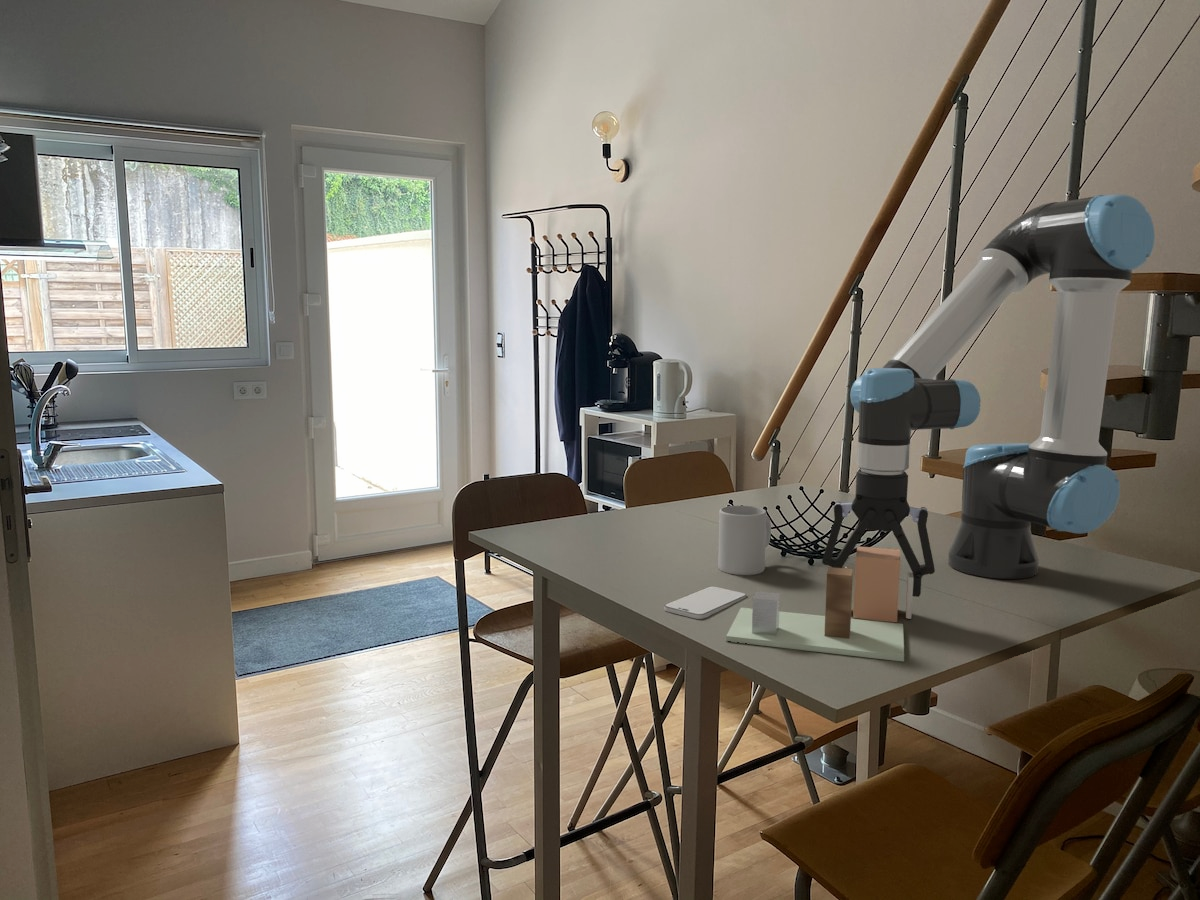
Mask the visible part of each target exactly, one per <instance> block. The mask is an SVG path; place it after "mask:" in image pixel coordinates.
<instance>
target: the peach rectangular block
mask: <svg viewBox="0 0 1200 900" xmlns="http://www.w3.org/2000/svg"><path fill="white" fill-rule="evenodd" d="M854 568H855V570H854V573H855V574H854V589H853V591H854V592H853V609H852V610H853V611H852V613H853V614H852V615H853V616H852V619H859V620H869V621H878V622H888V623H898V612H899V611H898V609H899V595H900V594H899V593H900V592H899V590H900V589H899V588H900V572H901V549H897V548H896V549H895V548H884V547H883V548H881V547H870V546H858V545H856V554H855V567H854Z"/></svg>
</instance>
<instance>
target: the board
mask: <svg viewBox="0 0 1200 900" xmlns="http://www.w3.org/2000/svg"><path fill="white" fill-rule="evenodd" d="M752 612H753V608H752V607H751V608H750V607H749V608H748V607H740V608H739V610H738V612H737V614H736V616H735V618H734V620H733V622H732V623H731V626H730V627H729V629H728V632H727V634H726V637H725V642H728V641H731V642H730V643H737V642H739V643H738V644H745V643H747V644H748V645H756V646H765V647H773V648H781V649H782V648H783V649H789V650H800V651H808V652H819V653H826V654H835V655H843V656H851V657H852V656H853V657H859V658H870V659H879V660H886V661H894V662H895V661H896V662H905V644H904V643H905V639H904V623H898V622H888V621H878V620H868V619H858V618H851V626H850V637H849V639H847V638H838V637H829V636H824V635H825V615H818V614H808V613H799V612H790V611H789V612H787V611H780V610H779V628H778V631H777V634H776V636H774V635H765V634H756V633H752ZM747 644H746V645H747Z"/></svg>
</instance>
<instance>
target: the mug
mask: <svg viewBox="0 0 1200 900" xmlns="http://www.w3.org/2000/svg"><path fill="white" fill-rule="evenodd" d="M718 513H719V516H718V517H719V518H718V519H719V521H718V555H717V556H718V557H717V561H718V562H717V567H718V569H719V570H720V571H721V572H722V573H725V574H730V575H735V576H736V575H737V576H753V575H754V576H755V575H758V574H762V573H764V571H765V570H766V548H768V546H769V545H770V541H771V534H772V524H771V519H770V517H769V516H768V515H767V511H766V509H764V508H762V507H757V506H753V505H728V506H723V507H721V508H720V509H719V512H718Z"/></svg>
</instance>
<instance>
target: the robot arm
mask: <svg viewBox="0 0 1200 900" xmlns="http://www.w3.org/2000/svg"><path fill="white" fill-rule="evenodd" d="M1154 245H1155V227H1154V222H1153V220H1152V217H1151V214H1150V212H1149V211H1148V210H1147V208H1146V207H1145V205H1144V204H1143V203H1142V202H1141V201H1140V200H1139V199H1137V198H1135V197H1134V196H1131V195H1128V194H1120V193H1119V194H1098V195H1096V196H1095V195H1094V196H1091V197H1083V198H1078V199H1071V200H1065V201H1057V202H1056V201H1055V202H1054V201H1053V202H1049V203H1044V204H1041V205H1039V206H1036V207H1033V208H1032V209H1030V210H1028V211H1027V212H1024V213H1023V214H1021V215H1020V216H1019V217H1017V218H1015V219H1014V220H1013V221H1012V222H1011V223H1010V224H1008V225H1007V226H1006V227H1005V228H1004V229H1002V230H1001V231H1000V232H999V233H998V234H997V235H996V236H994V237H993V238H992V239H991V241H990V242H989V243H988V244H987V245H985V247H984V248H983V249H982V250H981V251H980V252H979V253H978V255H977V258H976V265H975V267H973V268H972V270H971V271H970V272H969V273H968V274H967V275H966V276H965V277H964V279H963V280H962V281H960V283H959V284H958V285H957V286H956V287H955V288H954V289H953V291H951V292H950V294H949V295H948V296H947V297H945V299H944V300H943V301H942V302H941V304H940V305H939V306H938V307H936V309H935V310H934V311H933V312H932V313H931V314H930V315H929V316H928V318H927V319H926V320H925V321H924V322H923V323H922V324H921V325H920V327H918V329H917V330H916V331H915V332H914V333H913V334H912V335H911V336H910V337H909V339H907V341H906V342H905V343H904V344H903V345H902V346H901V347H900V348H899V349H898V350H897V352H895V354H893V356H891V358H890V359H889V360H888V361H887V362H885V363H886V364H885V365H883V366H882V367H872V368H867V369H866V370H864V372H863V373H862V374H861V376H858V378H857V379H856V380H854V382H853V383H852V386H851V388H850V394H849V395H850V402H851V405H852V407H853V408H854V410H855V411H856V412H857V413H858V436H857V437H858V439H857V440H858V441H857V451H856V453H857V454H856V466H857V468H859V469H858V470H857V471H856V475H855V476H856V477H855V496H854V499H853V501H852V502H841V501H836V502H835V504H834V506H833V513H834V521H833V524H832V527H831V530H830V534H829V537H828V540H827V542H826V543H827V544H826V547H825V549H824V553H823V555H822V559H821V562H822V564H823V565H824V566H828V567H833V568H845V569H848V567H847V566H844V565H845V563H846V562H847V560H848V558H849V557H850V556H851V553H852V552H853V550H854V549H855V548H856V547H857V544H858V543H859V541H860V540H861V538H862V536H864V533H865V532H866V530H868V531H869V532H870V531H873V532H875V531H881V532H883V533H886V532H887V533H891V532H892V533H893V535H894V537H895V539H896V540H897V543H898V545H899V547H900V550H901V552H902V553H903V556H904V558H905V560H906V562H907V563H908V566H909V568H910V570H911V572H907V583H906V585H907V586H906V600H905V601H906V603H905V618H906V619H910V620H911V619H912V612H913V610H912V608H913V597H918V598H919V597H920V596H921V591H922V579H923V577H924V576H926V575H932V574H934V573H936V572H935V571H936V569H935V563H934V559H933V554H932V549H931V543H930V539H929V533H928V528H927V523H928V522H927V521H928V517H929V511H928V509H927V507H924V506H922V507H920V508H919V507H914V506H910V505H909V503H908V489H909V488H908V484H909V474H907V473H908V472H906V471H908V469H909V467H910V451H911V450H910V449H911V434H912V431H919V430H941V429H942V430H945V429H946V430H947V429H949V430H955V429H957V428H965V427H968V426H970V425H972V424H973V423H974V422H975V421H976V420H977V418H979V414H980V411H981V395H980V392H979V391H978V389H977V386H975V385H974V384H973V383H972V382H970V381H969V380H964V379H954V378H950V379H935V377H936V376H937V375H938V374H939V373H940V372H941V371H942V370H943V368H945V366H947V365H948V363H949V362H950V361H951V360H953V358H954V357H955V356H956V355H957V354H958V352H959V351H960V350H961V349H962V348H963V347H964V346H965V344H967V342H968V341H970V339H971V338H972V337H973V336H974V335H975V334H976V332H977V331H978V330H979V329H980V328H981V327H983V325H984V324H985V323H986V322H987V321H988V320H989V318H990V317H991V316H992V315H993V314H994V313H995V312H996V311H997V310H998V308H999V307H1000V306H1001V305H1002V304H1003V303H1004V302H1005V301H1006V300H1007V299H1008V297H1010V296H1011V294H1012V293H1018V292H1021V291H1023V290H1024V289H1025V288H1026V287H1027V286H1028V284H1029V283H1030V282H1032V281H1033V280H1034V279H1036V278H1039V277H1040V276H1043V275H1047V274H1049V277H1048V283H1049V284H1050V285H1051V286H1052V287H1053V288H1054V289H1055V290H1056V292H1057V299H1056V305H1055V313H1054V321H1053V330H1052V338H1051V344H1050V345H1051V347H1050V353H1049V354H1050V356H1049V363H1048V369H1047V377H1046V378H1047V379H1046V387H1045V395H1044V403H1043V410H1042V411H1043V412H1042V420H1041V425H1040V426H1041V427H1040V435H1039V436H1038V438H1037V439H1036V440H1034V441H1032V442H1031V443H1027V442H1026V443H1025V442H1021V443H1019V442H1017V443H1015V442H1013V443H989V444H988V443H987V444H986V443H984V444H983V443H982V444H974V445H971V446H970V447H969V448H968V449H967V450H966V452H965V459H964V465H963V467H962V468H963V470H962V471H963V473H962V492H961V493H962V496H961V497H962V498H961V515H960V524H959V527H958V528H957V531H956V534H955V536H954V539H953V542H952V543H951V545H950V549H949V551H948V559H947V560H948V565H949V566H950V567H951V568H953V569H955V570H957V571H959V572H962V573H964V574H969V575H974V576H976V577H977V576H978V577H984V578H991V579H992V578H993V579H1002V580H1004V579H1006V580H1008V579H1010V580H1012V579H1015V580H1016V579H1018V580H1019V579H1027V578H1028V579H1029V578H1031V577H1034V575H1035V576H1037V575H1038V573H1039V557H1038V553H1037V549H1036V546H1035V543H1034V538H1033V535H1032V531H1031V527H1032V526H1031V524H1032V523H1034V524H1037V525H1040V526H1043V527H1048V528H1051V529H1052V530H1055V531H1057V532H1068V533H1072V534H1079V535H1080V534H1086V533H1090V532H1093V531H1095V530H1097V529H1099V528H1100V527H1102V526H1103V524H1104V523H1105V522H1107V521H1108V520H1109V519H1110V517H1111V516H1112V515H1113V513H1114V511H1115V509H1116V507H1117V505H1118V503H1119V499H1120V495H1121V483H1120V480H1119V479H1118V478H1117V477H1118V476H1117V474H1116V472H1115V471H1114V470H1112V469H1111V468H1110V467H1109V466H1107V459H1108V451H1107V450H1106V449H1105V448H1104V447H1103V446H1102V445H1101V444H1100V442H1099V440H1100V430H1101V423H1102V416H1103V410H1104V401H1105V394H1106V386H1107V378H1108V371H1109V365H1110V364H1109V363H1110V356H1111V349H1112V348H1111V347H1112V340H1113V333H1114V325H1115V324H1114V323H1115V317H1116V310H1117V303H1118V295H1119V294H1120V292H1121V291H1123V289H1126V287H1127V286H1130V284H1131V281H1132V275H1133V274H1132V271H1133V270H1135V269H1138V268H1139V267H1141V266H1142V265H1144V264H1145V263H1146V262H1147V259H1148V258H1149V257H1150V256H1151V254H1152V252H1153V248H1154ZM851 511H852V512H853V513H854V515H855V516H856V518H857V519H858V522H857V524H856V526H855V527H854V530H853V531H852V533H851V535H850V536H849V538H848V539H847V541H846V542H845V544H844V546H843V547H842V549H841V550H840V552H839V554H838V555H837V557H833V553H834V550H835V547H836V544H837V541H838V537H839V534H840V530H841V528H842V524H843V520H844V518H846V517H848V515H849V512H851ZM908 515H910V516H911V517H912V521H913V522H914V523H917V530H918V535H919V540H920V545H921V550H922V556H923V560H924V564H920V563H919V561H918V559H917V557H916V554H915V552H914V550H913V548H912V545H911V544H910V542H909V540H908V537H907V535H906V534H905V531H904V529H903V527H902V525H901V523H902V522H903V521H904V520H905V518H907V516H908Z"/></svg>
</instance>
